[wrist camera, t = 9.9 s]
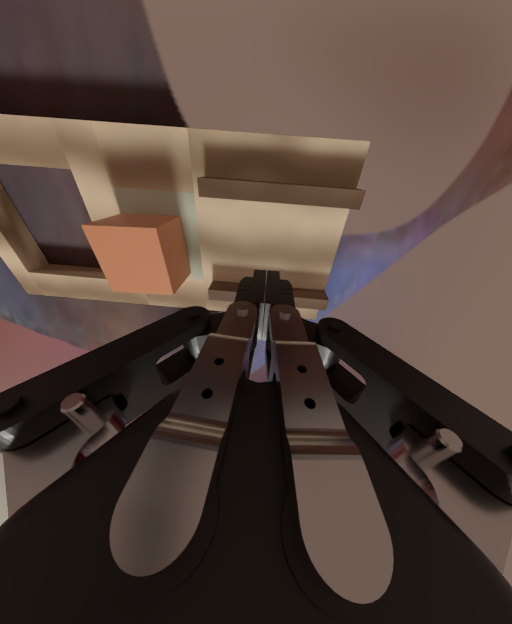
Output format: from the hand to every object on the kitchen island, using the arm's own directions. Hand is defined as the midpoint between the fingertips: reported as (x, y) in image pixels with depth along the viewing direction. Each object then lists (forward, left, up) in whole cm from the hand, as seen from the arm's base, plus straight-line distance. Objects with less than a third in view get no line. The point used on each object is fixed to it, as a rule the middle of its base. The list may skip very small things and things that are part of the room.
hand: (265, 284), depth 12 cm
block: (+1, -11, -8) cm, 13 cm away
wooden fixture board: (0, -11, -10) cm, 15 cm away
